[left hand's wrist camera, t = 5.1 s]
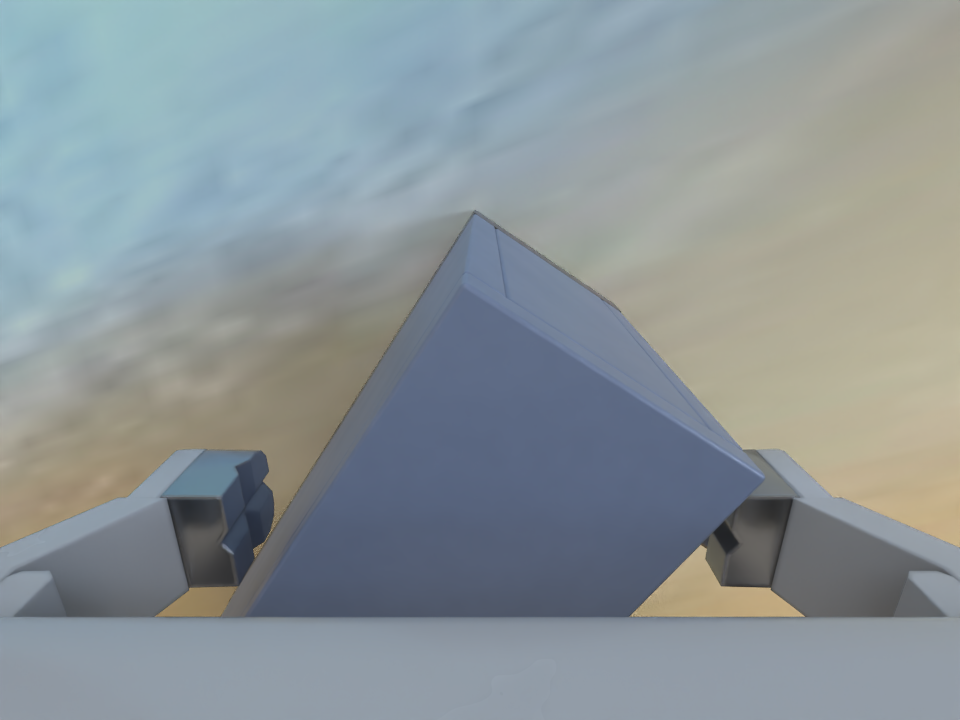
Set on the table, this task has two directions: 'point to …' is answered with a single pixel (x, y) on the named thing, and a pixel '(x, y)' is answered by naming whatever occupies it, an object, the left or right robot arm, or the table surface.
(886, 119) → the table surface
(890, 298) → the table surface
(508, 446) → the cabinet
